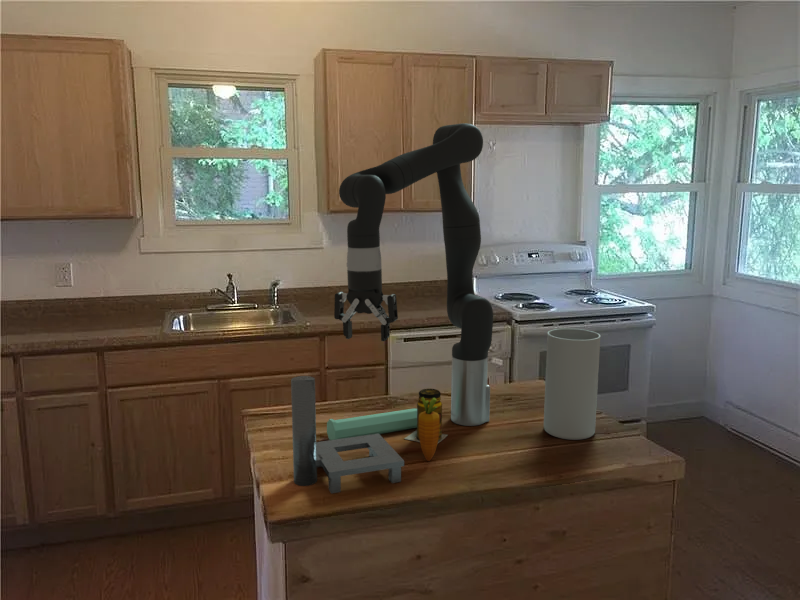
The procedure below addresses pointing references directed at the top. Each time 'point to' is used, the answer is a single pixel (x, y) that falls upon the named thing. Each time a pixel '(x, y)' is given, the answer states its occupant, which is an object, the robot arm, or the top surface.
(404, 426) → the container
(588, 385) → the cylinder vase
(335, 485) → the square hole stand
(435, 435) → the carrot
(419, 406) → the condiment
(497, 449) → the top surface
